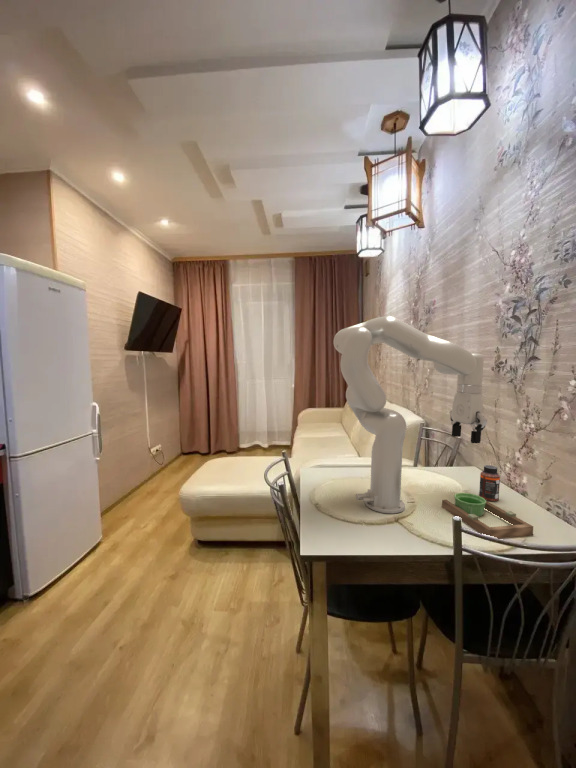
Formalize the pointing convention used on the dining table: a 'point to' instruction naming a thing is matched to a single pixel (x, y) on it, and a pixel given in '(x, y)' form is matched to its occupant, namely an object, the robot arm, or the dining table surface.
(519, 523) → the walnut track
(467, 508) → the ramekin
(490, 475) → the supplement bottle
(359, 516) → the dining table surface
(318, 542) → the dining table surface
